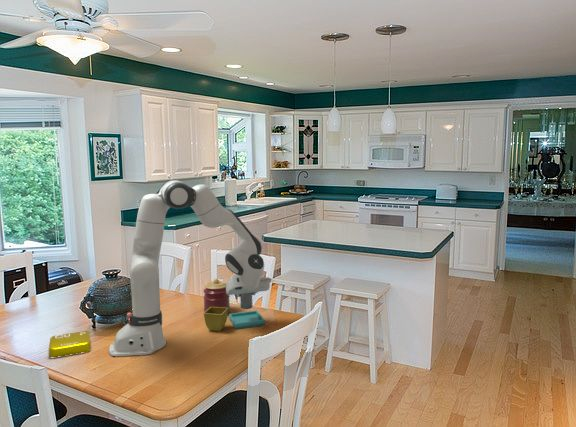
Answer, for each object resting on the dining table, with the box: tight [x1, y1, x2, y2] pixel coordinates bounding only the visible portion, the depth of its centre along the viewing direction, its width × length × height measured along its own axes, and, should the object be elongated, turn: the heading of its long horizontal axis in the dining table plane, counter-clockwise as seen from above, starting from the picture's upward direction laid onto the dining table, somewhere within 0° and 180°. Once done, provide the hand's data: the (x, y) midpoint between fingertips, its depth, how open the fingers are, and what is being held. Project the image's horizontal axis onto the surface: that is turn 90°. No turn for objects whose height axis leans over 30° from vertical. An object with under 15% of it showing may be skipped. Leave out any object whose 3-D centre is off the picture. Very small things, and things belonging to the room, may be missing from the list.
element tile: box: [48, 330, 92, 358], centre depth 186 cm, size 15×15×5 cm
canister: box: [203, 278, 231, 314], centre depth 226 cm, size 13×13×18 cm
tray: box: [228, 310, 266, 330], centre depth 214 cm, size 14×14×2 cm
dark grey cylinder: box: [239, 293, 253, 310], centre depth 212 cm, size 6×6×11 cm
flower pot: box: [203, 307, 229, 332], centre depth 205 cm, size 9×9×9 cm
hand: (245, 294), depth 213 cm, fingers closed on dark grey cylinder, 6 cm apart
